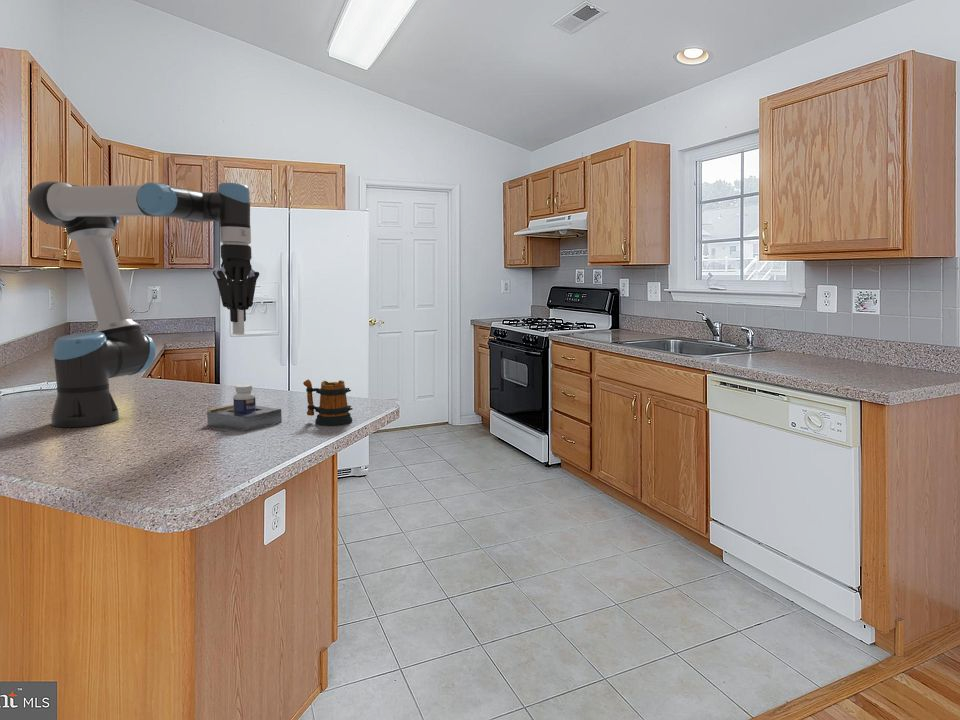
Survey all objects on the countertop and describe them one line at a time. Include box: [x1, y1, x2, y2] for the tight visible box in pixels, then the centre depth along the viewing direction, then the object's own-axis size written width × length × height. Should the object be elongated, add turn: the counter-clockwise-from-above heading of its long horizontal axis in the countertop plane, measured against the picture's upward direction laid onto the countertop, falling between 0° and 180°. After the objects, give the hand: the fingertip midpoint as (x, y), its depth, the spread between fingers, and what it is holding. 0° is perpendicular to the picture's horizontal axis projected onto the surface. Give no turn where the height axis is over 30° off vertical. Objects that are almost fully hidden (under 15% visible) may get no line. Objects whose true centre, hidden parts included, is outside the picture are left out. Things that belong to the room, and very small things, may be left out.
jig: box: [206, 403, 283, 432], centre depth 162 cm, size 14×12×4 cm
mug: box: [302, 379, 353, 427], centre depth 163 cm, size 13×10×12 cm
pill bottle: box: [232, 384, 257, 414], centre depth 161 cm, size 5×5×10 cm
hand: (238, 334), depth 164 cm, fingers closed
